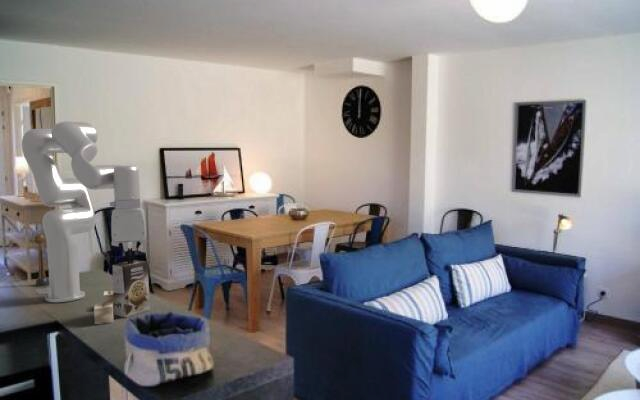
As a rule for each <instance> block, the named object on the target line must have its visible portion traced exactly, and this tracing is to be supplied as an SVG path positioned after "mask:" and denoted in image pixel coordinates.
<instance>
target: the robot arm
mask: <svg viewBox="0 0 640 400" xmlns="http://www.w3.org/2000/svg"><path fill="white" fill-rule="evenodd" d="M97 141H98V132H97V129H96V128H95V126H94V125H92V124H91V123H89V122H84V121H82V122H81V121H80V122H79V121H61V122H58V123H56V124H54V126H53V127H52V128H33V129H30V130H27V131H26V132H25V133H24V134H23V136H22V140H21V150H22V151H21V152H22V154H23V156H24V159H25V160H26V163H27V164H28V166H29V168H30V171H31V173H32V177H33V179H34V183H35V186H36V190H37V193H38V196H39V199H40V202H41V203H42V204H43V205H44V206H46V207H51V208H53V207H62V208H56V209H52V210H51V209H50V210H49V211H47V212H46V213H45V214H44V215H43V217H42V220H41V221H42V228H43V231H44V236H45V242H46V251H47V265H48V280H49V285H48V286H45V287H46V288H36V289H35V295H38V296H43V295H45V297H44V300H45V301H46V302H48V303H66V302H73V301H77V300H79V299H80V300H81V299H82V298H84V297H85V296H86V292H85V291H83V290H81V286H80V283H81V282H80V270H79V269H80V268H79V266H80V265H79V264H80V263H79V250H78V245H77V243H76V242H75V240H74V239H73V238H72V235H79V234H86V233H89V232H91V231H92V230H93V229H95V227H96V223H97V220H96V213H95V210H94V208H93V207H94V206H93V204H92V201H91V198H90V193H89V190H93V191H95V190H105V189H106V190H112V189H113V196H114V197H113V198H114V199H113V201H110V202H109V207H113V208H114V209H113V210H112V212H111V221H110V222H111V224H110V225H111V228H110V230H111V244H110V245H111V246H114V247H119V248H121V250H123V251H124V255H125V256H124V257H125V261H124V262H128V264H130V261H131V263H132V264H133V261H134V260H136V250H137V249H138V248H139V247H140V246H141V245H145V244H147V243H148V238H147V224H146V215H145V211H144V209H143V208H141V191H140V190H141V189H140V171H139V168H138V167H137V166H136V165H120V164H99V165H96V164H95V165H93V164H92V163H90V162H91V161H93V160H94V158H95V157H96V156H97V154H98V146H97V144H96V143H97ZM48 154H67V155H68V156H69V157H70V158H71V161H70V162H71V163H70V166H71V170H72V174H73V176H74V177H75V178H64V177H63V176H62V174H61V171H60V167H59V165H58V164H57V163H56V161H54V159H53V158H51V157H50V156H49V155H48ZM64 206H65V207H64ZM66 206H70V207H66ZM63 207H64V208H63ZM129 242H131V248H129V246H128V243H129Z"/></svg>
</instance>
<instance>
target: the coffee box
mask: <svg viewBox="0 0 640 400" xmlns="http://www.w3.org/2000/svg"><path fill="white" fill-rule="evenodd" d="M112 287H113V288H112V289H113V290H112V291H113V296H114V309H113V316H119V317H121V318H130V317H133V316H137V315H139V314H142V313H145V312H149V311H150V286H149V262H148V261H145V260H137V259H135V260H133V264H132V263H131V260H130V264H128V261H124V262H120V263H114V264H112Z"/></svg>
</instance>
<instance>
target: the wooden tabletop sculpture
mask: <svg viewBox="0 0 640 400" xmlns="http://www.w3.org/2000/svg"><path fill="white" fill-rule="evenodd" d="M33 242H34V243H35V244H37V245H38V247H37V248H38V249H37V250H38V277H37V279H36V281H35V286H36V287H48V286H49V285H50V284H49V277H47V276H46V275H47V274H46V273H45V272H46V271H45V265H44V253H43V246H42V244H44V243H45V242H46V236H45V234H41V233H40V234H36V235H35V236H34V238H30V239H29V243H33Z"/></svg>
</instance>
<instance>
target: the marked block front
mask: <svg viewBox="0 0 640 400" xmlns="http://www.w3.org/2000/svg"><path fill="white" fill-rule="evenodd" d="M93 312H94V313H93V314H94V316H93V317H94V325H95V324H98V325H104V324H103V323H107V324H113V323H114V309H113V302H111V303H104V302H103V303H95V304H94V307H93Z"/></svg>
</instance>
